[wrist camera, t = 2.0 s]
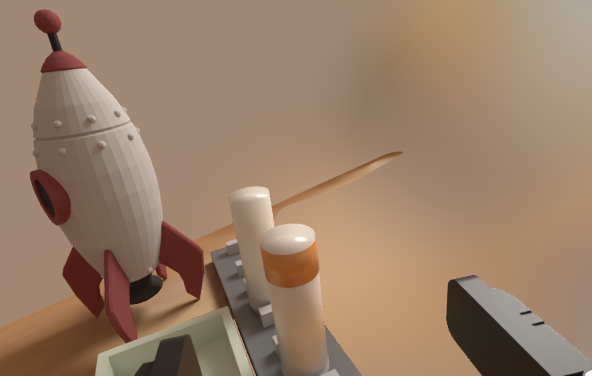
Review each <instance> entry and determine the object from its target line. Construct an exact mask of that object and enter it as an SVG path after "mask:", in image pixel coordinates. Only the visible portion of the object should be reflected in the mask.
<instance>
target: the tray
mask: <svg viewBox="0 0 592 376" xmlns="http://www.w3.org/2000/svg"><path fill="white" fill-rule="evenodd" d="M186 334H189V335H190V337H191V339H192V343H193V346H194V349H195V352H196V356H197V359H198V362H199V365H200V368H201V372H202V376H254V375H253V372H252V370H251V367H250V364H249V362H248V359H247V356H246V354H245V351H244V348H243V346H242V343H241V340H240V338H239V335H238V332H237V330H236V327H235V324H234V322H233V319H232V316H231V314H230V311H229V308H228V306H225V307H223V308H220V309H217V310H215V311H212V312H209V313H207V314H204V315H201V316H199V317H196V318H193V319H191V320H188V321H185V322H182V323H180V324H177V325H174V326H172V327H169V328H166V329H164V330H161V331H158V332H156V333H153V334H150V335H148V336H145V337H142V338H139V339H137V340H134V341H131V342H129V343H126V344H123V345H121V346H118V347H115V348H113V349H110V350H107V351H105V352H102V353H99V354H98V359H97V366H96V372H95V376H134V375H135V373H136V372H137V371H138V369H139V368H140V367H141V365H142V364H143V363H148V362H152V361H154V360H155V356H156V353H157V350H158V346H159V343H160V341H161V340H163V339H167V338H172V337H177V336H181V335H186Z"/></svg>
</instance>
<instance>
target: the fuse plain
mask: <svg viewBox="0 0 592 376" xmlns="http://www.w3.org/2000/svg"><path fill="white" fill-rule="evenodd" d="M228 199H229V204H230V208H231V213H232V218H233V223H234V228H235V233H236V238H237V242H238V247H239V252H240V257H241V262H242V267H243V272H244V277H245V281H246V286H247V291H248V299H249V303H250V308H251V310H252V311H253V312H254V313H255V314H257V315H259V310H258V309H259V308H262V307H264V306H267V305H269V304H271V302H270V296H269V290H268V285H267V279H266V277H265V272H264V266H263V261H262V255H261V250H260V238H261V236H262V235H263V234H264V233H265V232H266V231H268V230H269V229H271V228H274V221H273V214H272V208H271V201H270V195H269V190H268V189H267V188H264V187H247V188H242V189H239V190H237V191H234V192H233V193H231V194H230V195H229V197H228Z"/></svg>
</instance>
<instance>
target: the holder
mask: <svg viewBox="0 0 592 376" xmlns="http://www.w3.org/2000/svg"><path fill="white" fill-rule="evenodd" d="M225 244H226V247H225V248H222V249H219V250H216V251H212V252H210V253H211V257H212V262H213V264H214V267H215V269H216V272H217V275H218V277H219V280H220V283H221V285H222V288H223V290H224V293H225V296H226V298H227V301H228V303H229V306H230V309H231V311H232V314H233V317H234V319H235V322H236V324H237V327H238V330H239V332H240V335H241V337H242V340H243V343H244V345H245V348H246V350H247V353H248V356H249V358H250V361H251V364H252V366H253V368H254V371H255V374H256V376H283V373H282V368H281V358H280V353H279V347H278V341H277V336H276V330H275V324H274V319H273V313H272V307H271V304H269V305H267V306H264V307H262V308H259V309H258V310H259V315H257V314H255V313H254V312H253V311H252V310H251V308H250V303H249V299H248V291H247V286H246V281H245V277H244V272H243V267H242V262H241V257H240V252H239V247H238V242H237V239H235V240H232V241H228V242H225ZM325 334H326V344H327V353H328V357H329V366H330V371H329V372H327V373H325V374H323V375H321V376H362V375H361V374H360V372H359V371H358V370H357V368H356V367H355V365H354V364H353V363H352V361H351V360H350V359H349V357H348V356H347V355H346V353H345V352H344V351H343V349H342V348H341V346H340V345H339V344H338V343H337V341H336V340H335V338H334V337H333V335H332V334H331V333H330V331H329V330H328V329H327V327H326V326H325Z"/></svg>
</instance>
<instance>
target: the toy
mask: <svg viewBox="0 0 592 376" xmlns="http://www.w3.org/2000/svg"><path fill="white" fill-rule="evenodd" d="M34 22H35V24H36V26H37V27H38V28H39V29H40V30H41V31H42V32H44V33H47V34H48V37H49V40H50V43H51V46H52V49H53V52H52V53H51V55H49V56H48V57H47V58H46V60H45V62H44V64H43V66H42V69H41V72H42V77H41V81H40V86H39V90H38V94H37V98H36V102H35V106H34V122H33V124H32V125H31V127H32V129H33V137H34V138H36V139H35V140H34V151H33V155H34V156H35V158H36V163H37V168H38V170H35V171H32V172H30V179H31V183H32V186H33V189H34V191H35V194H36V196H37V198H38V200H39V202H40V204H41V206H42V208H43V210H44V211H45V213H46V214H47V216H48V217H49V219H50V220H51V221H52V222H53V223H54V224H55V225H57V226H58V225H59V226H60V228H61V229H62V231H63V232H64V233H65V235H66V236H67V238H68V240H69V241H70V242H71V244H72V245H73V248H72V250H71V252H70V255H69V257H68V259H67V261H66V264H65V266H64V268H63V277H64V278H65V280H66V281H67V283H68V284H69V286H70V287H71V289H72V290H73V292H74V293H75V295H76V296H77V297H78V298H79V299H80V300H81V301H82V303H83V304H84V305H85V306H86V307H87V308H88V309H89V310H90V311H91V312H92V313H93V314H94V315H95V316H96V317H98V316H99V314H100V312H101V310H102V308H103V307H104V305H105V309H106V314H107V316H108V318H109V319H110V321H111V323H112V325H113V326H114V328H115V330H116V332H117V333H118V334H119V336H120V337H121V338H122V339H123V340H124V341H125V342H126V343H129V342H131V341H134V340H137V329H136V327H135V324H134V321H133V319H132V314H131V310H130V305H133V304H138V303H141V302H144V301H147V300H148V299H150V298H152V297H153V296H155V295H156V294H157V293H158V292H159V291H160V289H161V288H162V285H163V283H162V280H161V278H163V279H167V273H166V266H168V267H169V268H171V269H173V270H174V271H176V272H178V273H179V274H180V276H181V278H182V279H183V281H184V285H185V288H186V291H187V293H189V294H191V295H193V296H194V297H196V298H198V299H200V295H201V289H202V282H203V276H204V260H203V250H202V249H201V248H200V246H199V245H197V244H196V243H195V242H193V241H192V240H190V239H189V238H187V237H186V236H185V235H183V234H182V233H180V232H179V231H178V230H176V229H175V228H173V227H172V226H170V225H169V224H167V223H166V222H164V221H163V216H162V206H161V197H160V192H159V188H158V183H157V178H156V174H155V171H154V168H153V165H152V163H151V160H150V157H149V154H148V152H147V150H146V148H145V146H144V144H143V142H142V140H141V137H140V135H139V133H140V130H139V129H138V128H135V126H134V125H133V123H132V122H129V121H130V118H129V117H128V116H127V114H126V112H127V109H126V108H125V107H121V106H120V105H119V103H118V102H117V100H116V99H115V98H114V97H113V96H112V94H111V93H110V92H108V90H107V89H106V88H105V87H104V86H103V85H102V84H101V83H100V82H99V81H98V80H97V79H96V78H95V77H94V76H93V75H92V74H91V73H90V72H89V71H88V70H87V69H86V68H87V67H86V66H85V65H84V64H83V63H82V62H81V61H80V60H78V59H77V58H75V57H74V56H73V55H70V54H68V53H66V52H64V51H62V48H61V45H60V42H59V40H58V37H57V34H56V33H57V32H58V31H59V30H60V28H61V21H60V19H59V17H58V16H57V15H56V14H55V13H53V12H52V11H50V10H45V9H44V10H39V11H37V12H36V13H35V15H34ZM155 269H156V272H157V275H158V276H160V277H161V278H160V277H158V276H155V275H151V274H152V272H153V271H154V270H155ZM102 279H104V283H105V304H104V302H103V299H102V296H101V294H100V288H99V285H100V283H101V281H102Z"/></svg>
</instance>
